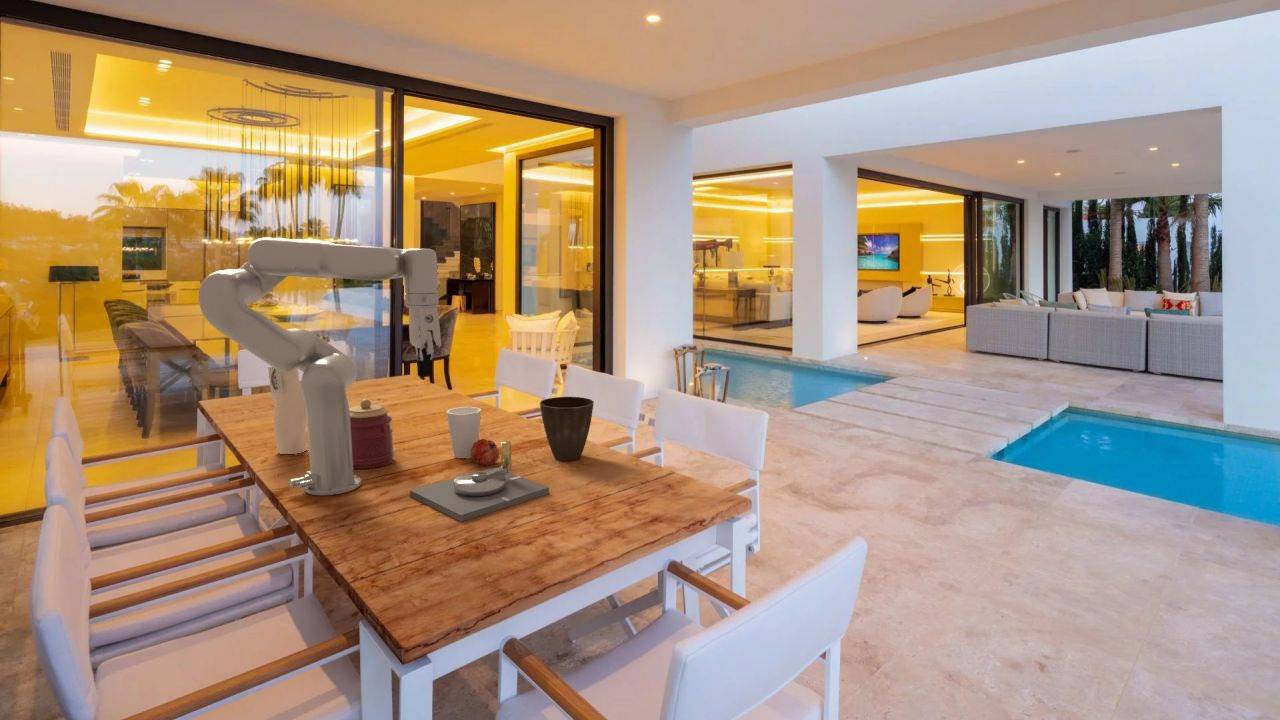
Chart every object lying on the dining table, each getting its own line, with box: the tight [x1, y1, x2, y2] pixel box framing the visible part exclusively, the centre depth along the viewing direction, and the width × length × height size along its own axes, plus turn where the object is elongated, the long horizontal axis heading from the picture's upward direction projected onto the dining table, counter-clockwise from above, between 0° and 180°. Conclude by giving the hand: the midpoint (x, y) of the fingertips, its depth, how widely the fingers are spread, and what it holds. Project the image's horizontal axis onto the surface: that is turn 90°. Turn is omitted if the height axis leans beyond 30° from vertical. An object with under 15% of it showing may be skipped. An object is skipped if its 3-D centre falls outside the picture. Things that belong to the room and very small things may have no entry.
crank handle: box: [453, 440, 513, 497], centre depth 161 cm, size 16×12×9 cm
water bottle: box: [267, 366, 309, 455], centre depth 192 cm, size 10×9×28 cm
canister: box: [349, 398, 395, 470], centre depth 183 cm, size 13×13×18 cm
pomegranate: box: [471, 438, 500, 467], centre depth 183 cm, size 7×7×10 cm
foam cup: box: [446, 406, 482, 459], centre depth 191 cm, size 10×9×13 cm
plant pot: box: [539, 396, 595, 462], centre depth 189 cm, size 15×15×16 cm
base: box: [409, 466, 550, 522], centre depth 160 cm, size 24×22×2 cm
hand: (425, 376), depth 164 cm, fingers closed
